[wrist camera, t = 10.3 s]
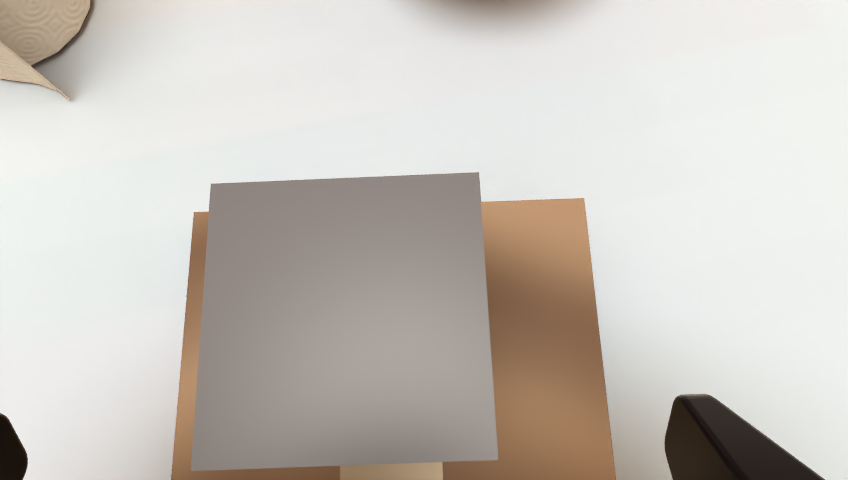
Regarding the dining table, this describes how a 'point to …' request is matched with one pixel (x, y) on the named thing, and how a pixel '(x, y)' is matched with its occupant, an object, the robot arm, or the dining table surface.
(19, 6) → the paper towel roll
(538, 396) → the cardboard box
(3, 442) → the robot arm
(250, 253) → the gift box with lid
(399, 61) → the dining table surface
